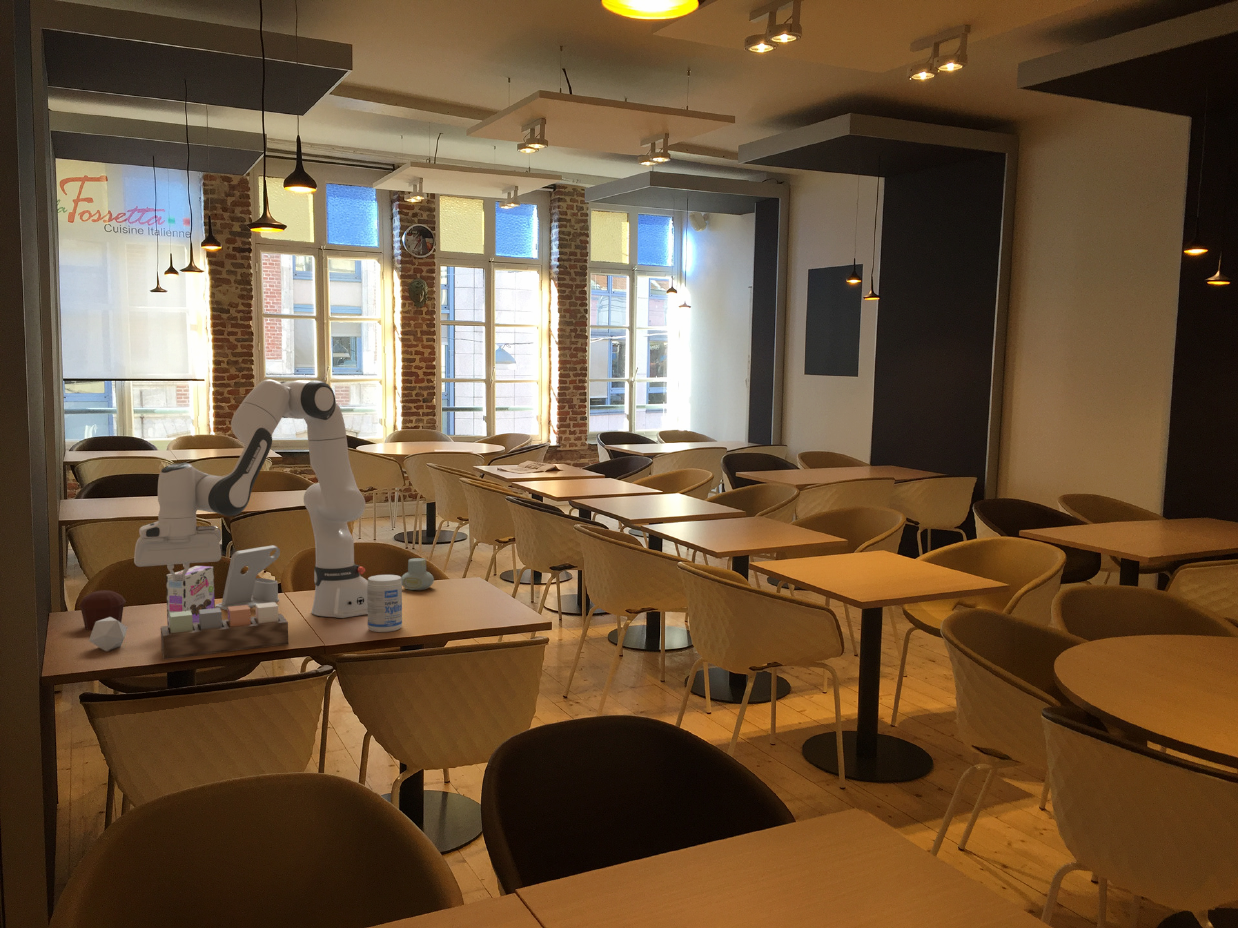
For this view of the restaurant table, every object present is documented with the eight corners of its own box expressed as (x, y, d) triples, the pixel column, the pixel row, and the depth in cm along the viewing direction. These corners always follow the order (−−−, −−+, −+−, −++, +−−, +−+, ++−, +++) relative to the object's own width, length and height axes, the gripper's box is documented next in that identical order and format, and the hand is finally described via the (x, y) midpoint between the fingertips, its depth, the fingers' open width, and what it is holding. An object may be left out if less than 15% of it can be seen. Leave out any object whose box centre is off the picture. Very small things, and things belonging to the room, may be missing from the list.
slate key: (219, 626, 254) (219, 607, 253) (222, 630, 250) (221, 611, 249) (199, 628, 251) (198, 609, 251) (201, 632, 247) (200, 613, 247)
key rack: (281, 634, 264) (281, 613, 264) (288, 644, 255) (287, 621, 255) (161, 649, 250) (160, 626, 249) (164, 659, 241) (163, 635, 241)
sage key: (191, 629, 251) (190, 610, 250) (192, 633, 246) (192, 614, 246) (170, 631, 248) (169, 612, 248) (171, 636, 244) (170, 617, 243)
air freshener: (437, 587, 325) (437, 558, 324) (428, 592, 317) (427, 562, 316) (407, 585, 327) (406, 556, 326) (396, 590, 319) (396, 561, 318)
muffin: (73, 632, 265) (71, 596, 264) (88, 622, 276) (87, 587, 275) (119, 630, 267) (117, 595, 266) (132, 620, 278) (131, 586, 277)
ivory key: (275, 620, 261) (274, 602, 260) (278, 624, 256) (278, 605, 256) (255, 622, 258) (255, 603, 258) (258, 626, 254) (258, 608, 253)
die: (109, 644, 256) (84, 620, 251) (137, 628, 256) (113, 604, 251) (103, 663, 249) (77, 639, 244) (132, 647, 249) (107, 622, 244)
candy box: (185, 634, 264) (183, 575, 263) (166, 632, 265) (164, 574, 264) (216, 621, 278) (214, 565, 276) (198, 620, 279) (196, 564, 277)
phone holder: (262, 596, 309) (261, 541, 308) (282, 600, 304) (281, 544, 302) (213, 607, 295) (211, 549, 293) (233, 611, 289) (231, 553, 288)
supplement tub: (390, 634, 266) (390, 582, 264) (360, 631, 269) (360, 579, 267) (408, 625, 275) (408, 575, 274) (379, 622, 278) (378, 572, 277)
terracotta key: (248, 623, 257) (247, 604, 257) (250, 627, 253) (250, 608, 252) (228, 625, 255) (227, 606, 254) (230, 629, 250) (229, 610, 250)
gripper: (220, 523, 252) (221, 575, 253) (133, 528, 243) (134, 581, 244) (223, 526, 247) (223, 579, 248) (134, 531, 237) (135, 586, 238)
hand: (178, 580), depth 246 cm, fingers closed
